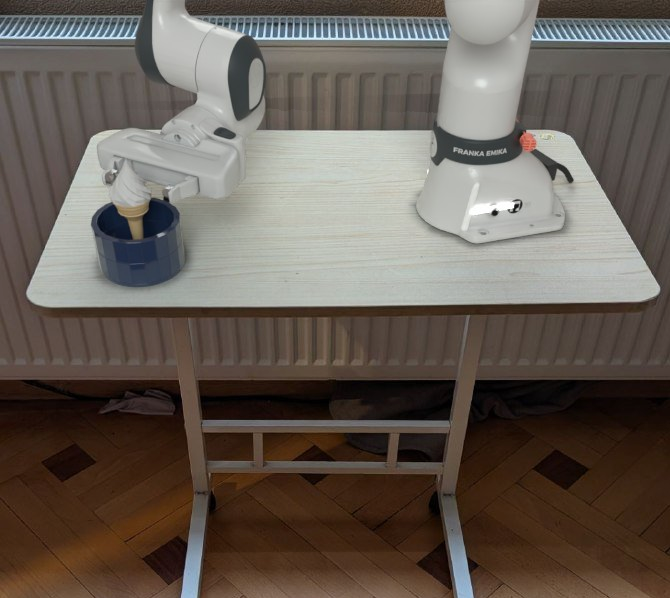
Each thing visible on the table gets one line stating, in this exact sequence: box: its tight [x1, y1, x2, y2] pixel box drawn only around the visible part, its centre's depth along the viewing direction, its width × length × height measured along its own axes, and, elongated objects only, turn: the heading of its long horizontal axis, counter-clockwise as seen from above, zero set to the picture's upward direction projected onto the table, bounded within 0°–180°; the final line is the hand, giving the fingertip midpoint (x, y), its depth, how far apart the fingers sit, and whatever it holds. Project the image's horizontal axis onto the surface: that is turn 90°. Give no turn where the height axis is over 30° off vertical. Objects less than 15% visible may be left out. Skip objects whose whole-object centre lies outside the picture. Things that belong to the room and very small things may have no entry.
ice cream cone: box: [108, 160, 153, 240], centre depth 110 cm, size 6×6×15 cm
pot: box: [90, 196, 186, 288], centre depth 113 cm, size 12×12×7 cm
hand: (136, 189), depth 109 cm, fingers open, 8 cm apart
